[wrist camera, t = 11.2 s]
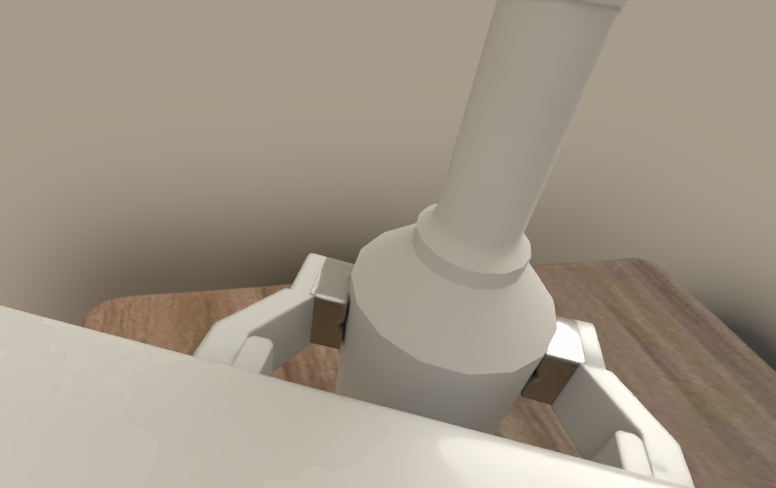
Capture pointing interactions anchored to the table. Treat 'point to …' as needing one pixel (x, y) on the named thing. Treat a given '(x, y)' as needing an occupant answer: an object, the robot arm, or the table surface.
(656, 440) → the robot arm
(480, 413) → the bottle
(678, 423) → the table surface
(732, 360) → the table surface
